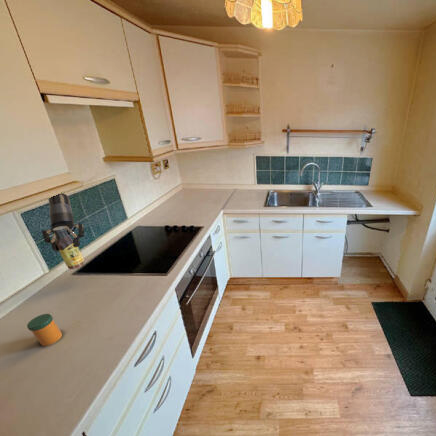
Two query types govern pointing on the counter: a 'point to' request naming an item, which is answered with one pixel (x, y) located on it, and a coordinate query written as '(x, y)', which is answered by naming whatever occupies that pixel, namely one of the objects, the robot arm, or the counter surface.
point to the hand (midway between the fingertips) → (66, 248)
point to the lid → (39, 322)
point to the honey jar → (48, 334)
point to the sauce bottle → (68, 248)
